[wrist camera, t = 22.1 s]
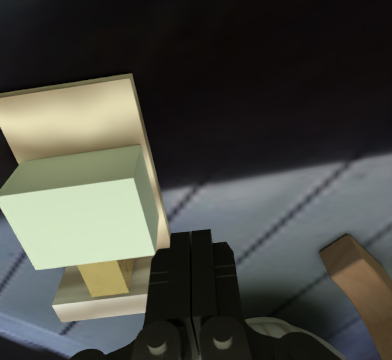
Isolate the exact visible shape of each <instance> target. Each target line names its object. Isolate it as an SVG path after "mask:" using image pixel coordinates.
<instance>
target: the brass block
mask: <svg viewBox="0 0 392 360" xmlns="http://www.w3.org/2000/svg"><path fill="white" fill-rule="evenodd" d="M134 259H135V258H129V259H121V260H113V261H105V262H97V263H89V264H81V265H77V266H78V269H79V271H80V273H81V275H82V277H83V279H84V281H85V283H86V285H87V287H88V290H89V292H90V294H91V296H92V297H98V296H106V295H114V294H122V293H129V290H130V284H131V277H132V271H133V265H134Z"/></svg>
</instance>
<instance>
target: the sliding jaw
mask: <svg viewBox="0 0 392 360" xmlns="http://www.w3.org/2000/svg"><path fill="white" fill-rule="evenodd" d="M0 208H1V209H2V211H3V213H4V215H5V216H6V218H7V220H8V222H9V224H10V225H11V227H12V229H13V231H14V232H15V234H16V236H17V238H18V239H19V241H20V243H21V245H22V246H23V248H24V250H25V252H26V253H27V255H28V257H29V259H30V261H31V262H32V264H33V266H34V268H35V269H36V270H41V269H49V268H57V267H65V266H73V265H81V264H89V263H97V262H105V261H113V260H121V259H129V258H137V257H145V256H153V255H155V253H156V245H157V234H158V223H159V214H158V210H157V206H156V202H155V198H154V194H153V190H152V186H151V182H150V179H149V175H148V171H147V167H146V163H145V159H144V155H143V151H142V147H141V145H135V146H128V147H121V148H114V149H107V150H100V151H93V152H86V153H79V154H72V155H65V156H58V157H51V158H44V159H37V160H30V161H23V162H21V163H20V165H19V166H18V167H17V169H16V170H15V171H14V173H13V174H12V175H11V176H10V178H9V179H8V180H7V182H6V183H5V184H4V185H3V187H2V188H1V189H0Z"/></svg>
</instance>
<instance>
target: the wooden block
mask: <svg viewBox="0 0 392 360" xmlns="http://www.w3.org/2000/svg"><path fill="white" fill-rule="evenodd" d="M320 256H321V258H322V260H323V263H324V265H325V267H326V269H327V271H328V274H329V276H330V278H331V279H332V280H333V281H334V282H335V283H336V284H337V285H338V286H339V287H340V288H341V289H342V290H343V291H344V292H345V294H346V295H347V296H348V298H349V299H350V300H351V302H352V303H353V304H354V306H355V307H356V309H357V311H358V313H359V314H360V316H361V318H362V320H363V321H364V323H365V325H366V327H367V329H368V331H369V333H370V335H371V337H372V340H373V342H374V344H375V346H376V348H377V350H378V352H379V354H380V356H381V358H382V360H392V280H391V278H390V277H389V275H388V274H387V272H386V271H385V269H384V268H383V267H382V266H381V265H380V264H379V263H378V262H377V261H376V260H375V259H374V258H373V257H372V256H371V255H370V254H369V253H368V252H367V251H366V250H365V249H364V248H363V247H362V246H361V245H360V244H358V243H357V242H356V241H355V240H354V239H353V238H352V237H351V236H350V235H345V236H344V237H342V238H340V239H339V240H337V241H336V242H334V243H333V244H331V245H329V246H328V247H326V248H325V249H323V250H322V251H320Z"/></svg>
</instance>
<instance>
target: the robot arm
mask: <svg viewBox="0 0 392 360" xmlns="http://www.w3.org/2000/svg"><path fill="white" fill-rule="evenodd" d="M199 350H200V355H201V360H342V359H340V358H339V357H338V356H337V355H335V354H334V353H333V352H332V351H330V350H329V349H328V348H327V347H325V346H324V345H323V344H322V343H320V342H319V341H318V340H317V339H315V338H314V337H312V336H311V335H309V334H306V333H303V332H290V333H287V334H285V335H283V336H282V337H281V338H276V337H272V336H268V335H264V334H261V333H259V332H257V331H255V330H254V329H252V328H251V327H250V326H249V325H248V324H247V323H246V321H245V319H244V317H243V314H242V308H241V301H240V294H239V287H238V280H237V273H236V267H235V260H234V253H233V251H232V249H231V248H230V246H229V245H228V244H227V242H219V243H212V235H211V229H207V230H198V231H191V232H190V231H189V232H179V233H171V235H170V248H162V249H158V250H157V251H156V253H155V255H154V256H153V258H152V260H151V267H150V276H149V285H148V293H147V302H146V311H145V320H144V325H143V328H142V329H141V331H140V332H139V333H138V335H137V337H136V339H135V340H134V341H132V342H131V343H130V344H128V345H127V346H125V347H123V348H120V349H118V350H116V351H113V352H111V353H109V354H106V355H105V354H104V353H103V352H101V351H100V350H97V349H86V350H83V351H80V352H78V353H76V354H75V355H74V356H72V357H71V358H70V359H69V360H197V359H199Z"/></svg>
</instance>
